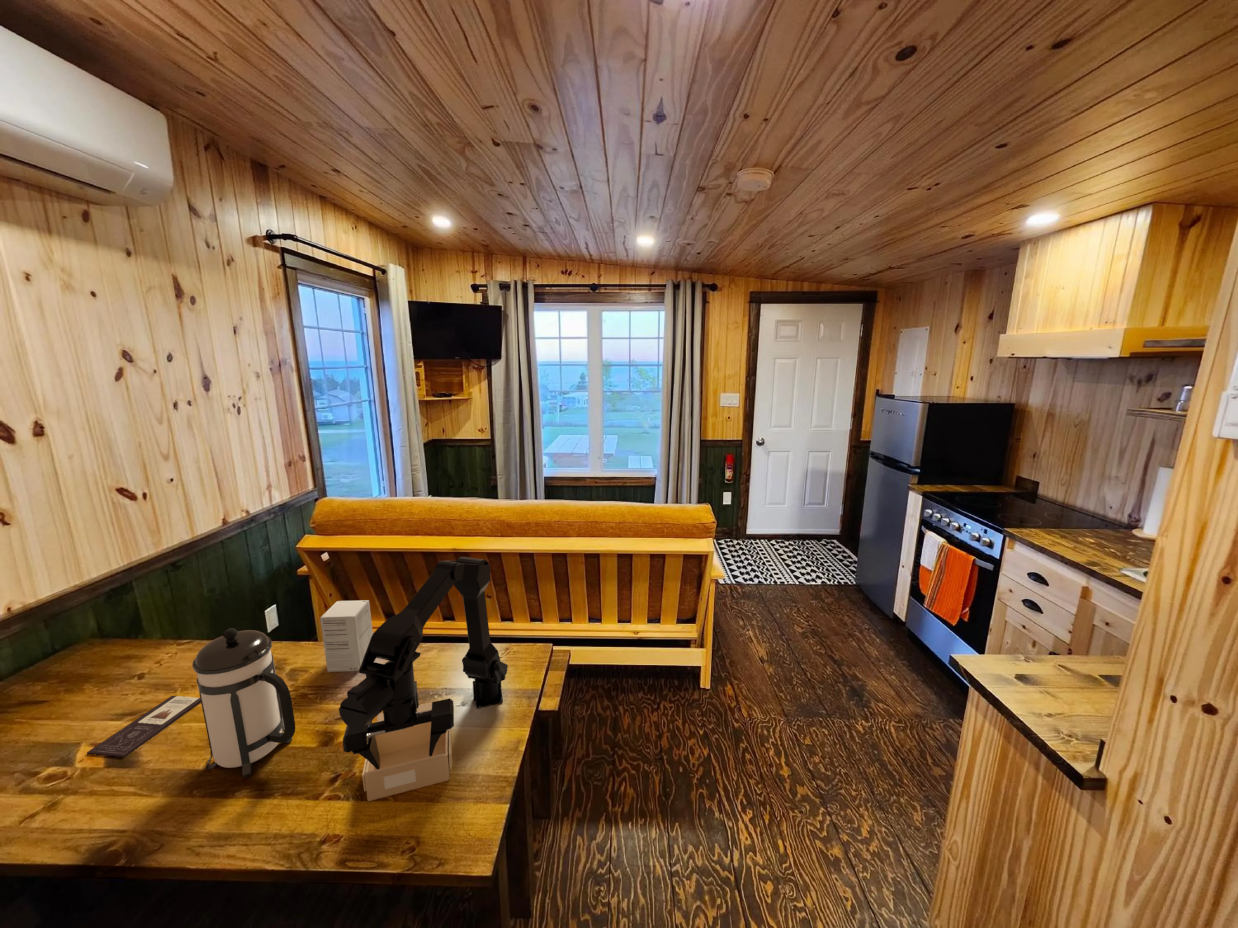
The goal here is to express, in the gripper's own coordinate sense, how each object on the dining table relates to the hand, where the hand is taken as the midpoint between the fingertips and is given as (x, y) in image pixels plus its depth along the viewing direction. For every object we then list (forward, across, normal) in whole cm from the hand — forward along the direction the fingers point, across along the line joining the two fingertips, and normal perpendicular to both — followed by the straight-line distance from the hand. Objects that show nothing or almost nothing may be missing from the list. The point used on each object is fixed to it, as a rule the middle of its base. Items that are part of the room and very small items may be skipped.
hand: (405, 761), depth 91 cm
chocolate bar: (+9, +59, -40) cm, 72 cm away
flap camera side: (0, 0, 0) cm, 0 cm away
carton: (+8, 0, -7) cm, 11 cm away
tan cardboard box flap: (+1, 0, -14) cm, 14 cm away
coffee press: (+8, +32, -22) cm, 40 cm away
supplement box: (+8, +19, -52) cm, 56 cm away
